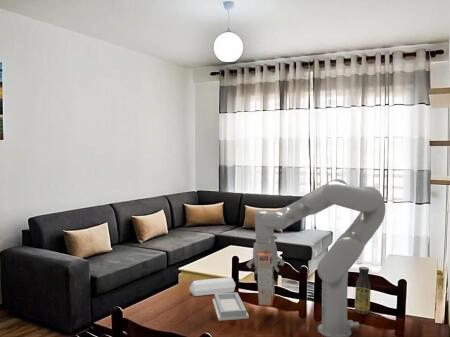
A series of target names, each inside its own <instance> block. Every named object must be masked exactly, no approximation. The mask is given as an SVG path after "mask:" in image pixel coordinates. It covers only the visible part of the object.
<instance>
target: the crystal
mask: <svg viewBox="0 0 450 337" xmlns="http://www.w3.org/2000/svg"><path fill="white" fill-rule="evenodd" d="M236 285H237V284H236V282H235V281H234V279H233V277H232V276H230V277H229V276H228V277H219V278H218V277H217V278H209V279H198V280H193V281H191V284H190V286H189V293H190V294H192V296H193V297H199V296H208V295H215V294H219V293H235V288H236Z"/></svg>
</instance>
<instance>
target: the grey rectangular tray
mask: <svg viewBox="0 0 450 337" xmlns="http://www.w3.org/2000/svg"><path fill="white" fill-rule="evenodd" d="M212 304H213V307H214V311H215V313H216V316H217V320H218V321H220V322H221V321H232V320H244V319H245V320H247V319H250V317H249V316H250V315H249V313H248V311H247V309H246V306H245V305H244V303H243V301H242V298H241V297H240V295H239V293H238V292H236V291H234V292H228V293H219V294H214V298H212Z"/></svg>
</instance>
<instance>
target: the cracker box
mask: <svg viewBox="0 0 450 337" xmlns="http://www.w3.org/2000/svg"><path fill="white" fill-rule="evenodd" d="M257 269H258V283H257V297H258V300H257V301H258V306H267V307H268V306H269V307H271V306H273V302H274V299H275V294H276V293H275V280H274V267H273V261H272V252H263V253H258V254H257Z"/></svg>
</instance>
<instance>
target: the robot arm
mask: <svg viewBox="0 0 450 337" xmlns="http://www.w3.org/2000/svg"><path fill="white" fill-rule="evenodd" d="M334 205H335V206H339V207H342V208H346V209H349V210H353V211H355V212H356V211H357V212H359V214H358V215H357V216H356V218H355V219H354V220H353V221H352V223H351V224H350V225H349V226H348V228H347V229H346V230H345V231H344V232H343V233H342V234H340V236H339V237H338V238H337V239H336V240H335V242H334V243H333V245H332V246H331V247H329V250H328V251H327V252H326V253H325V255H324V256H323V257H322V258H321V260H320V261H319V262H318V265H317V270H316V271H317V274H318V277H319V278H320V280H322V281H321V288H322V289H321V324H319V325H318V326H317V331H318V333H319V334H320V335H322V336H324V337H350V336H351V335H352V328H359V327H360V323H359V321H353V320H352V319H348V282H349V281H348V279H349V270H350V269H351V268H352V267H353V265H354V264H356V262H357V261H358V259H359V258H360V257H361V254H362V253H363V251H364V249H365V247H366V245H367V244H368V243H369V241H370V240H371V239H372V238H373V237H374V235H375V234H376V232H378V230H379V228H380V227H381V225H382V223H383V222H384V219H385V214H386V204H385V200H384V197H383V195H382V193H381V191H379V190H378V189H377V188H376V187H373V186H364V187H360V186H355V185H352V184H348V183H347V182H345V180H342V179H339V178H335V179H333V180H329V181H328V182H326V183H325V184H323V185H322V186H319V187H317V188H316V189H313V190H312V191H309V192H308V193H306V194H305V195H303V196H302V197H301V198H299V200H296V201H294V202H293V203H291V204H289V205H287V206H285V207H283V208H281V209H278V210H276V211H272V210H270V209H259V210H256V211H255V212H254V228H255V230H254V231H255V242H253V249H252V258H251V259H250V260H249V261H248V262H247V263H246V267H248V268H249V270H250V271H251V272H252V273H253V280H254V281H255V283H256V284H258V269H257V254H258V253H263V252H272V261H273V267H274V282H278V280H279V273H280V270H281V269H282V268H283V266H284V265H285V263H286V261H285V260H284V259H282V258H281V257H280V256H279V254H278V248H277V244H276V243H277V242H275V240H278V236H277V235H274V230H279V231H281V230H285V229H286V228H287V227H289V226H291V225H293V224H294V223H296V222H298V221H300V220H302V219H304V218H306V217H309V216H312V215H313V216H314V215H316V214H318V213H320V212H322V211H324V210H326V209H328V208H331V207H332V206H334ZM252 265H254V267H253V266H252Z"/></svg>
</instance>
